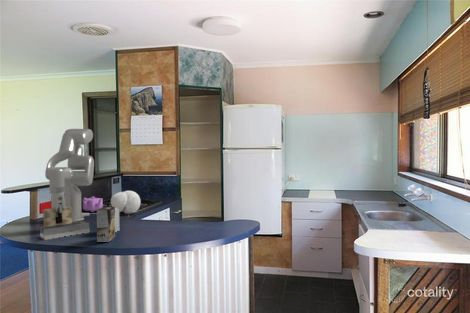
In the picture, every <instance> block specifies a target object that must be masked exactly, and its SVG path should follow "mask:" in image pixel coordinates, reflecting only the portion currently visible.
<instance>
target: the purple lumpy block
mask: <svg viewBox="0 0 470 313" xmlns="http://www.w3.org/2000/svg"><path fill="white" fill-rule="evenodd" d="M82 203H83V204H82V210H83V211H89V212H90V213H91V212H93V213H94V212H95V211H96V212H97V209H100V208H102V207H104V204H103V198H100V197H96V196H90V197H89V198H87V197H83V199H82Z"/></svg>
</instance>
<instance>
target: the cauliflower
mask: <svg viewBox="0 0 470 313" xmlns="http://www.w3.org/2000/svg"><path fill="white" fill-rule="evenodd" d="M110 198H111V199H110V206H111V207H115V209H119V214H120V213H121V212H123V213H124V214H126V215H132V214H134V213H136V212H137V211H138V210H139V209H140V206H141V198H140V195H139V194H138V193H137V192H135V191H133V190H125V191H119V192H117V193H115V194H113V195H112V196H111V197H110Z"/></svg>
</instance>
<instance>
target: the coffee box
mask: <svg viewBox="0 0 470 313" xmlns="http://www.w3.org/2000/svg"><path fill="white" fill-rule="evenodd" d="M114 237H115V238H116V233H115V207H112V206H103V207H102V208H100V209H97V210H96V243H97V242H109V241H111V240H112V239H113V238H114ZM115 238H114V239H115ZM114 239H113V240H114ZM113 240H112V241H113ZM112 241H111V242H112ZM109 243H110V242H109Z"/></svg>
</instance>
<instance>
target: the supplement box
mask: <svg viewBox="0 0 470 313" xmlns="http://www.w3.org/2000/svg"><path fill="white" fill-rule="evenodd" d="M120 230H121V229H120V213H119V209H115V232H116V233H118V232H117V231H119V232H120Z"/></svg>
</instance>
